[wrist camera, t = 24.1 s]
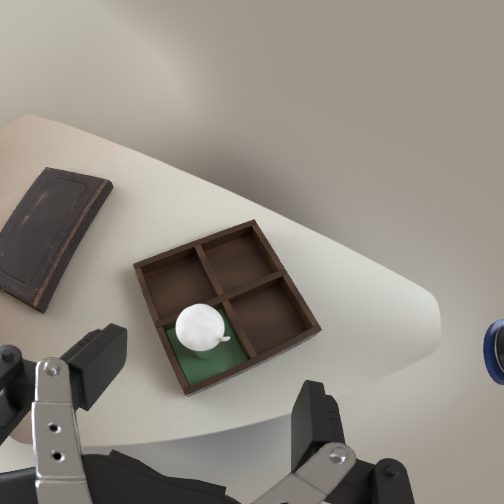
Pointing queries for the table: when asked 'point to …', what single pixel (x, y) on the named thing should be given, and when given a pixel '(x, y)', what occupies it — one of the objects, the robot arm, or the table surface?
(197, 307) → the milkshake
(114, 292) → the table surface
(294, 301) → the grid
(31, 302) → the hardcover book
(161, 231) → the table surface
